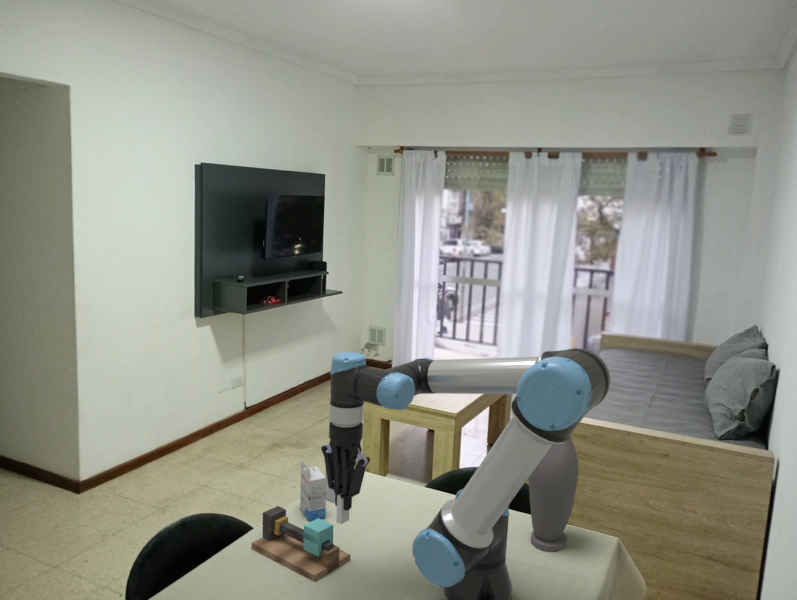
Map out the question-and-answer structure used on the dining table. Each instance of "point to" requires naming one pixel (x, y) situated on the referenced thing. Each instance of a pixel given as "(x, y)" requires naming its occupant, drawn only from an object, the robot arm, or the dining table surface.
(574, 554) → the dining table surface
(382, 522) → the dining table surface
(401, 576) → the dining table surface
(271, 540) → the cradle board
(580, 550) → the dining table surface
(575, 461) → the vase
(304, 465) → the ink box
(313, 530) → the sleeve
